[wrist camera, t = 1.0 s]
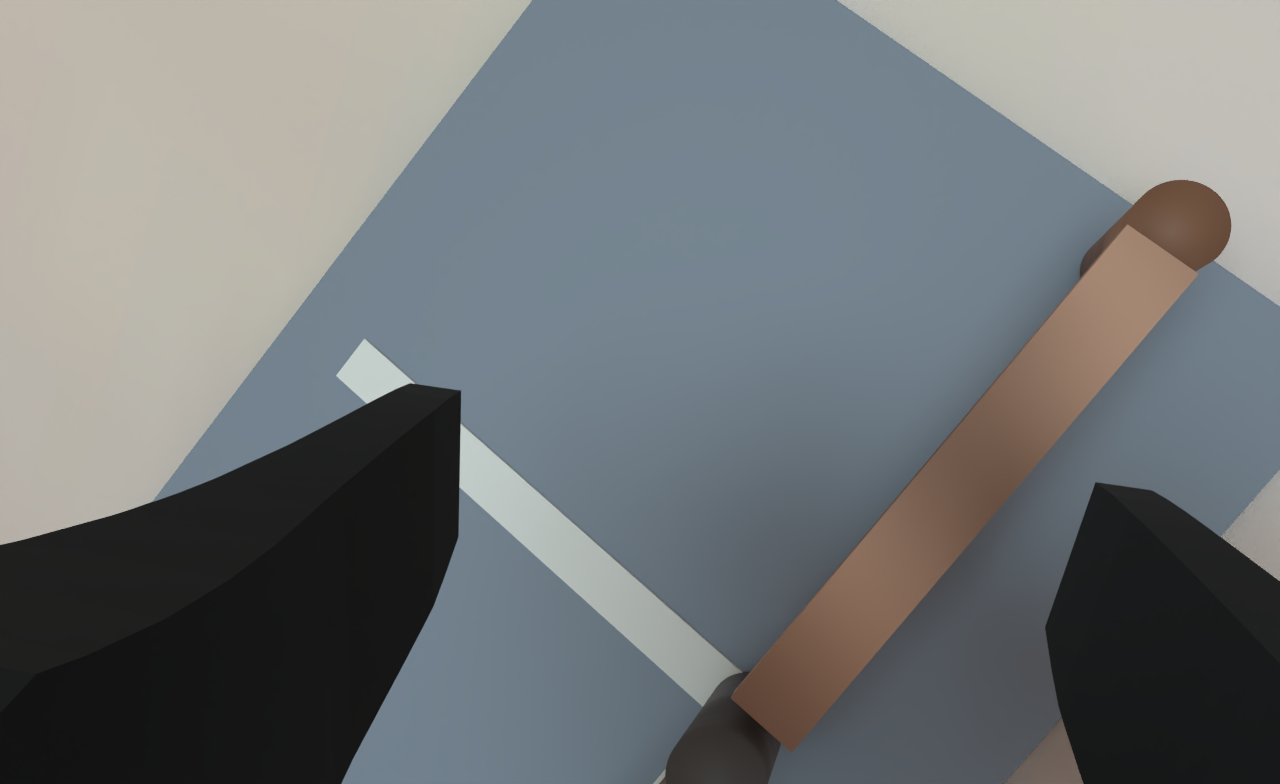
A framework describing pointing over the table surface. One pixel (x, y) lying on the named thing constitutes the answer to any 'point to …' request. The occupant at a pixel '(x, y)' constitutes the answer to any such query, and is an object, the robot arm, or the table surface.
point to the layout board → (734, 389)
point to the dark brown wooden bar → (723, 744)
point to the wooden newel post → (988, 454)
